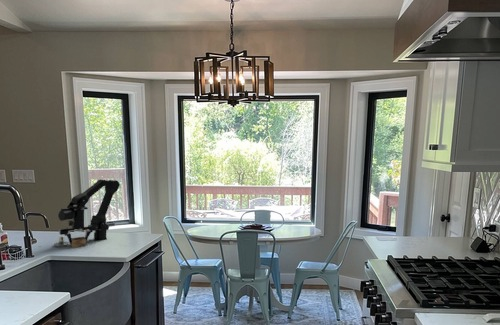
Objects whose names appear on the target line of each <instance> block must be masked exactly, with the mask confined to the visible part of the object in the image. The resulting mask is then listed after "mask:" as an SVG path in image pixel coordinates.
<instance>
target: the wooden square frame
mask: <svg viewBox="0 0 500 325" xmlns="http://www.w3.org/2000/svg"><path fill="white" fill-rule="evenodd" d="M71 241H72V244H71V245H70V247H71V248H72V249H74V248H82V247H86V246H87V241H86V239H85V236H78V237H77V236H75V237H71Z"/></svg>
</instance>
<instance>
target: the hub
mask: <svg viewBox="0 0 500 325" xmlns="http://www.w3.org/2000/svg"><path fill="white" fill-rule="evenodd" d="M64 237H65V235H62V236H58V242H55V243H54V244H53V247H55V248H62V247H63V248H64V247H67V246H68V245H69V242H67V241H64V239H65V238H64Z"/></svg>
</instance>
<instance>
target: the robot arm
mask: <svg viewBox="0 0 500 325" xmlns="http://www.w3.org/2000/svg"><path fill="white" fill-rule="evenodd" d="M103 187H104V191H105V193H104V195H103V197H102V201H101V202H100V206H99V209H98V211H97V213H96V214H95V215H92V217H91V219H90V223H89V224H88V225H87V226H85V210H88V207H87V206H86V204H87V203H88V202H90V201H89V200H90V198H91V197H93V196H94V195H95V194H96V193H97V192H98V191H100V190H101V189H102V188H103ZM119 188H120V181H119V180H116V179H115V180H114V179H109V180H107V179H98V180H97V181H96V182H95V183H93V184H91V186H90V187H88V188H87V189H86V190H85V191H84V192H81V193H78V194H76V195H74V196H73V197H72V198H71V201H70V202H69V204H68V205H67V206H66V208H65V207H63V208H60V211H59V212H58V214H57V215H58V216H57V217H58V219H59V221H61V222H63V221H68V223H67V224H68V226H66V227H60V228H59V233H58V234H59V235H62V236H64V237H65V236H67V240H68V241H69V242H68V243H69V244H70V246H71V244H72V241H71V238H72V234H71V233H72V232H79V231H85V233H84V234H85V235H84V237H85V239H86V242H87V241H88V238H89V237H90V235H91V233H93V239H94V241H95V242H99V241H106V240H108V238H107V231H109V228H110V226H109V225H108V224H107V212H108V209H109V207H110V205H111V201H112V199H113V196H114V194H115V193H116V192H118V190H119ZM68 227H72V228H68Z"/></svg>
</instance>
